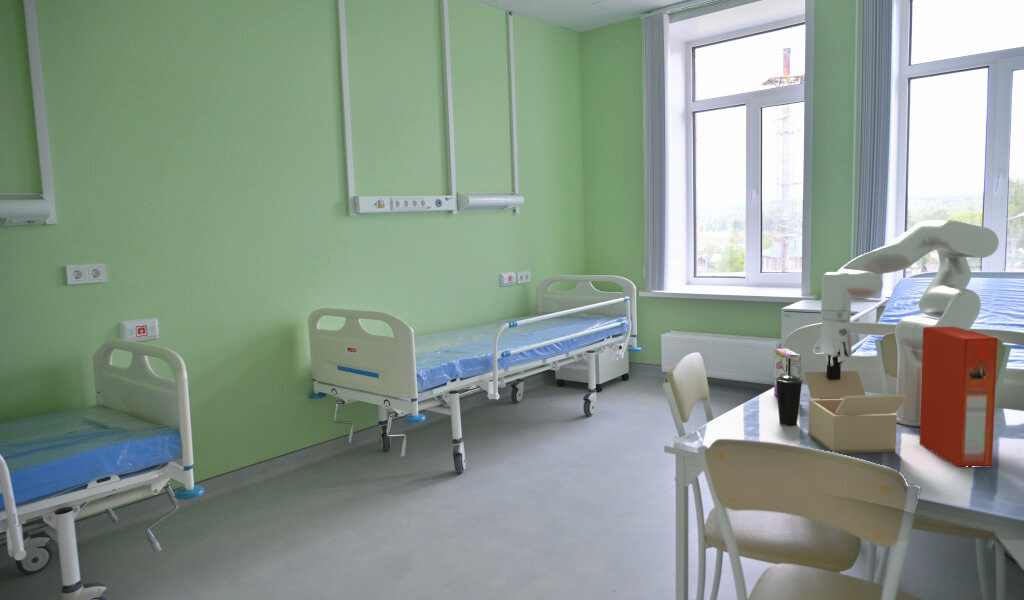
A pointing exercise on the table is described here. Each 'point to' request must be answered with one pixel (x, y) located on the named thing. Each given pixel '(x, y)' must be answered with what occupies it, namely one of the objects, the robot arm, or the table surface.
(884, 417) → the carton
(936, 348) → the file binder
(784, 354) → the candy bar box
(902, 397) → the flap
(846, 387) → the flap
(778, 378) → the drinking cup
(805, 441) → the table surface
